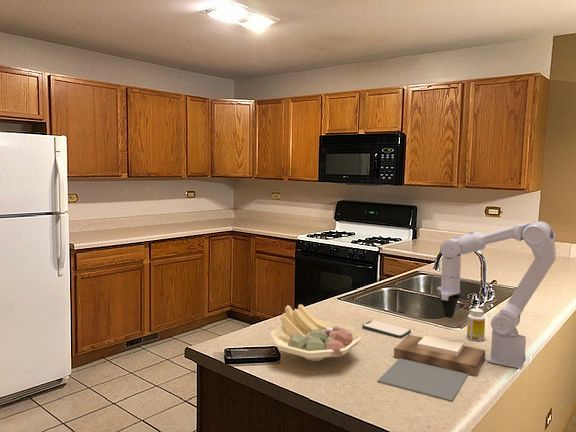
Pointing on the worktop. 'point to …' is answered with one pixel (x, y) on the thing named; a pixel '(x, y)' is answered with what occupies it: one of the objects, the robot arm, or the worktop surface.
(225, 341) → the worktop surface
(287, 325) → the dish with food
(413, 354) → the brown wooden flat block
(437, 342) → the cream flat block
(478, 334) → the supplement bottle
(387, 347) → the worktop surface
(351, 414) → the worktop surface
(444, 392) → the mat
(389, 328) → the phone case
